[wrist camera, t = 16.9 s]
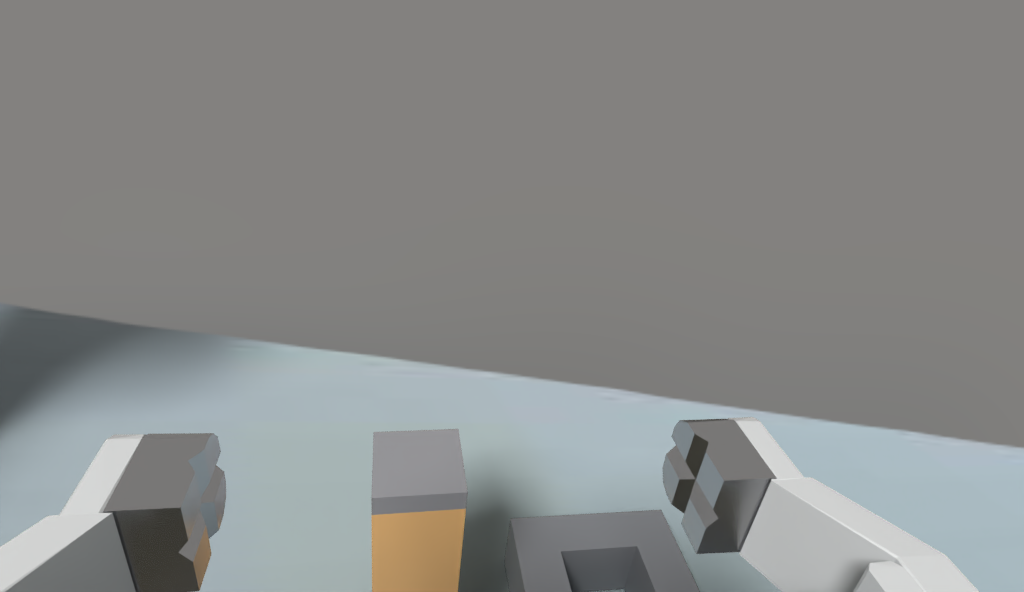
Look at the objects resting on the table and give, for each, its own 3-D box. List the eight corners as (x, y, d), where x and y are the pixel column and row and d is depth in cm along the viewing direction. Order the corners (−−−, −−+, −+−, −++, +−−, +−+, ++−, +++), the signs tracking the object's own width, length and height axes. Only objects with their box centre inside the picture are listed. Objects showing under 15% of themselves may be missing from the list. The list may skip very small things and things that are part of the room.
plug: (372, 688, 31) (371, 498, 25) (374, 616, 35) (373, 432, 28) (449, 678, 32) (467, 492, 26) (443, 609, 36) (458, 428, 29)
